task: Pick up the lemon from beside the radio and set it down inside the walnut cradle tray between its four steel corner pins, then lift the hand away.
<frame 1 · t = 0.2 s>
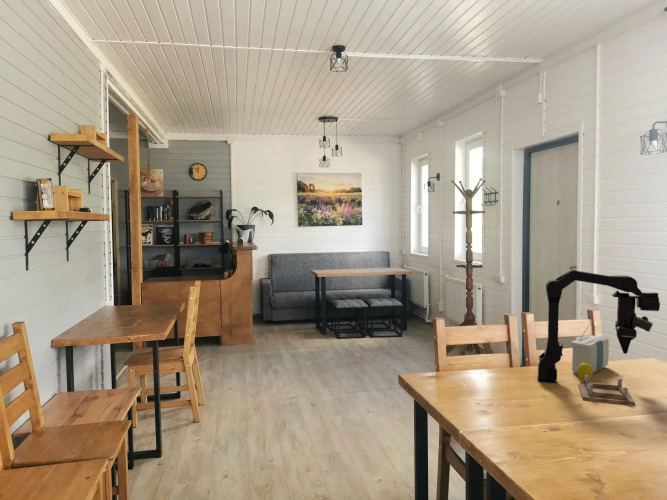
hand: (624, 350, 191), 14 cm above the table, tool pointing down, fingers open, 9 cm apart
lemon: (584, 382, 199), on the table
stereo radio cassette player: (589, 371, 214), on the table
cradle tray: (605, 395, 183), on the table
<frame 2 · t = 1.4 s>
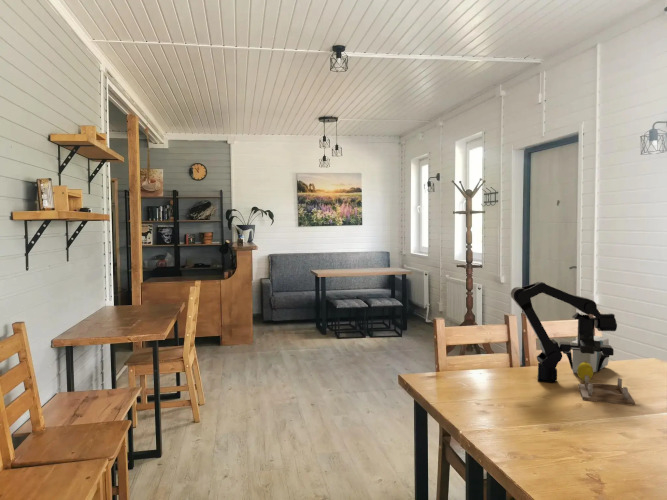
hand: (584, 370, 198), 5 cm above the table, tool pointing down, fingers open, 9 cm apart
nothing on the table moved.
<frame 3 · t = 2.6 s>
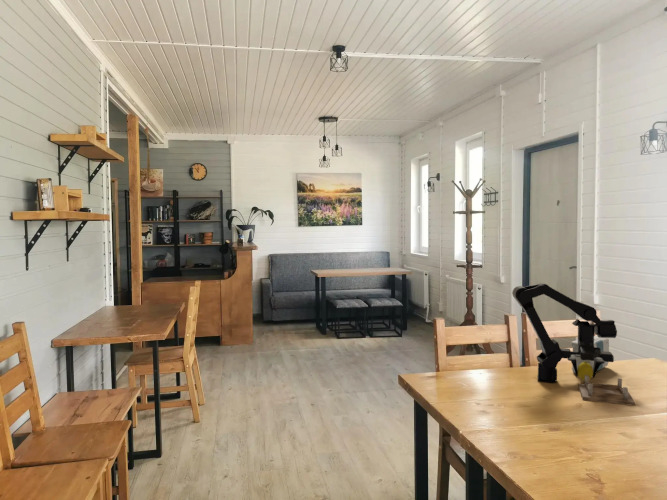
hand: (585, 376, 199), 2 cm above the table, tool pointing down, fingers closed on lemon, 5 cm apart
lemon: (584, 382, 199), on the table, touching gripper
everything else where it was.
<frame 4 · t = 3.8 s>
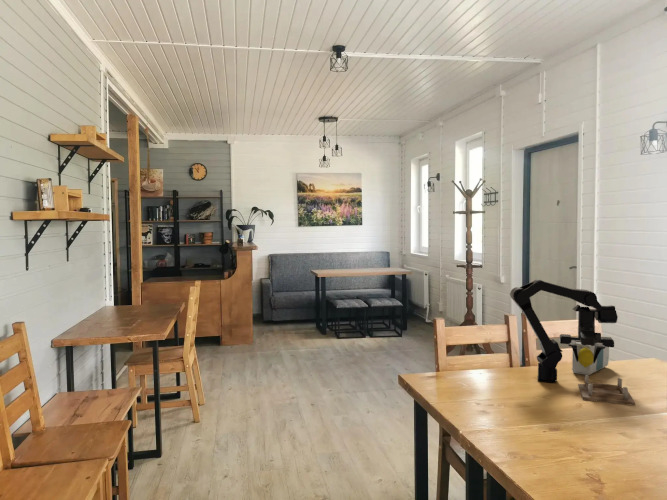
hand: (585, 362, 198), 8 cm above the table, tool pointing down, fingers closed on lemon, 5 cm apart
lemon: (585, 368, 198), point 5 cm above the table, touching gripper
everything else where it was.
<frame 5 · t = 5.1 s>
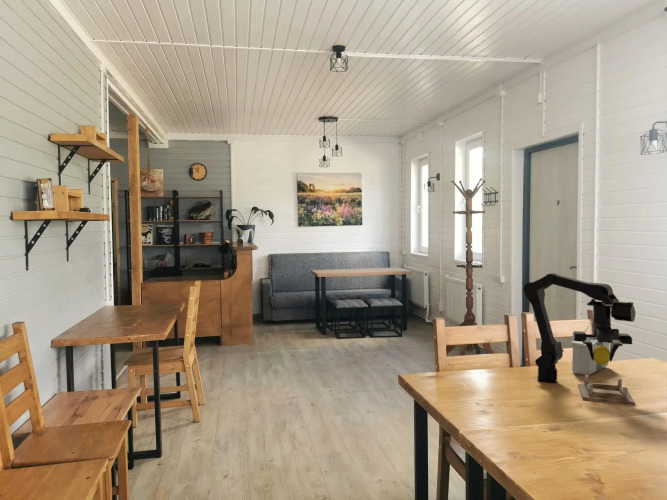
hand: (601, 360, 186), 11 cm above the table, tool pointing down, fingers closed on lemon, 5 cm apart
lemon: (601, 366, 186), point 9 cm above the table, touching gripper
everything else where it was.
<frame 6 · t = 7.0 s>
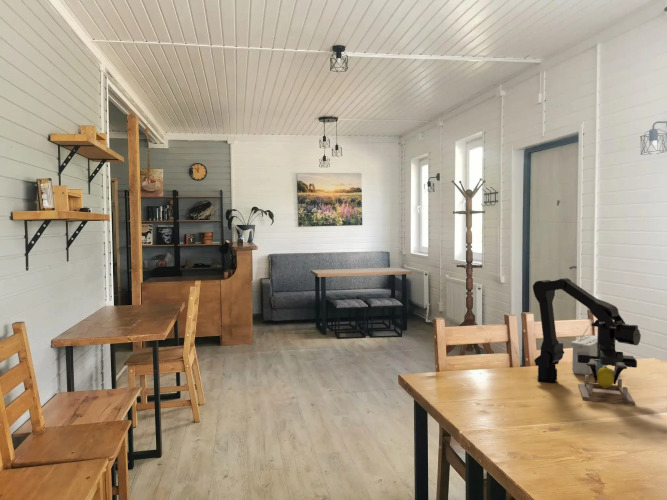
hand: (605, 383, 183), 4 cm above the table, tool pointing down, fingers closed on lemon, 5 cm apart
lemon: (604, 389, 183), point 2 cm above the table, touching gripper
everything else where it was.
when the fingers open (4 cm above the table, at t = 7.4 s): lemon drops 1 cm, resting on cradle tray.
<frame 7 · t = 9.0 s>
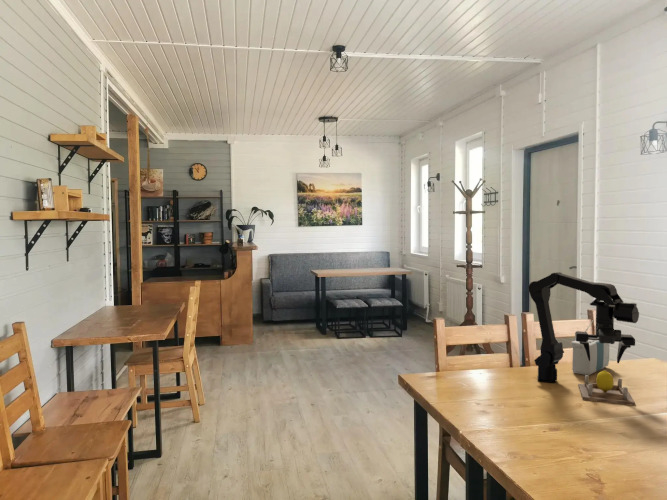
hand: (603, 361, 184), 12 cm above the table, tool pointing down, fingers open, 9 cm apart
lemon: (604, 392, 183), point 1 cm above the table, touching cradle tray
everything else where it was.
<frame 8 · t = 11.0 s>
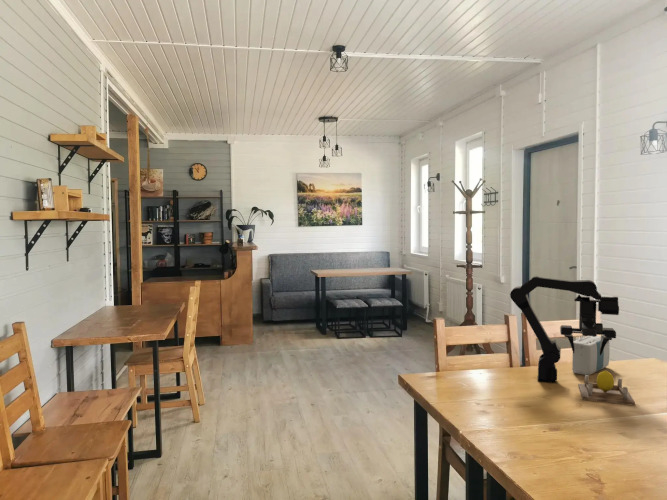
hand: (586, 353, 194), 12 cm above the table, tool pointing down, fingers open, 9 cm apart
nothing on the table moved.
at the end: lemon 0.1 cm off-centre on the cradle tray, point 0.8 cm above the cradle tray's base; the gripper is holding nothing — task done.
